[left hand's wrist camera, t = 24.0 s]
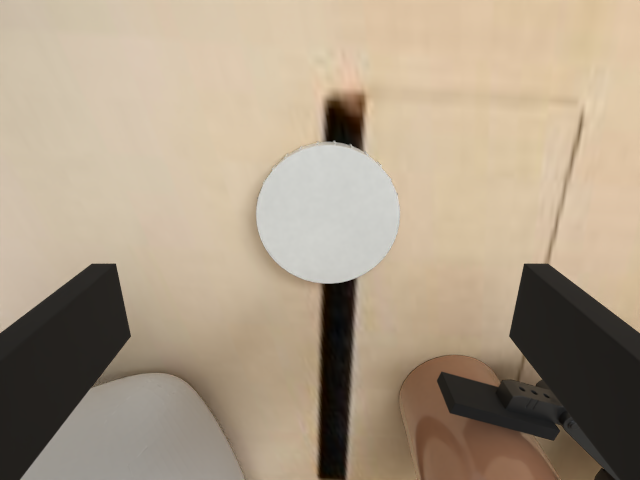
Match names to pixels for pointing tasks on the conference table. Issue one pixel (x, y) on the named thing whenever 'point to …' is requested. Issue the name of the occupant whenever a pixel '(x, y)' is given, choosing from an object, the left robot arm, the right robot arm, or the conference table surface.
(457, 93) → the conference table surface
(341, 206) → the lid
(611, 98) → the conference table surface
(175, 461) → the projector
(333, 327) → the conference table surface
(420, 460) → the jar
